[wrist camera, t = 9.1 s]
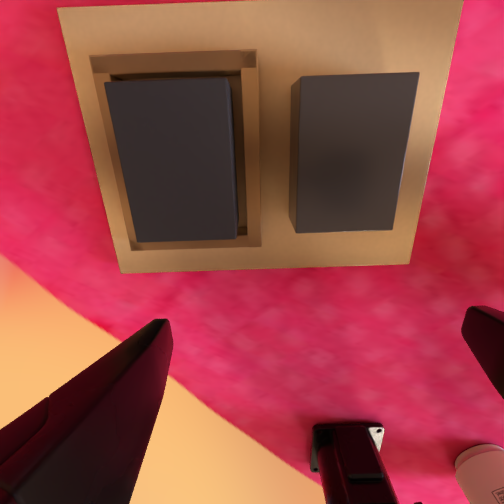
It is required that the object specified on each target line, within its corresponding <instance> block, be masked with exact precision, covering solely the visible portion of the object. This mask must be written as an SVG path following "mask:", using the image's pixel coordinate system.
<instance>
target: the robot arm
mask: <svg viewBox="0 0 504 504" xmlns="http://www.w3.org/2000/svg"><path fill="white" fill-rule="evenodd" d="M461 332H462V336H463V338H464V340H465V341H466V343H467V344H468V346H469V348H470V349H471V351H472V352H473V354H474V356H475V357H476V359H477V360H478V362H479V364H480V365H481V367H482V368H483V370H484V372H485V373H486V375H487V376H488V378H489V379H490V381H491V382H492V384H493V385H494V387H495V388H496V390H497V391H498V392H499V394H500V395H501V396H502V398H503V399H504V312H502V311H499V310H496V309H493V308H490V307H488V306H471V307H469V308H468V309H467V311H466V314H465V318H464V321H463V325H462V328H461ZM172 350H173V337H172V332H171V327H170V322H169V320H168V319H154V320H152V321H151V322H150V323H148V324H147V325H146V326H144V327H143V328H141V329H140V330H139V331H137V332H136V333H135V334H133V335H132V336H130V337H129V338H128V339H126V340H125V341H123V342H122V343H121V344H119V345H118V346H117V347H115V348H114V349H112V350H111V351H110V352H108V353H107V354H106V355H104V356H103V357H101V358H100V359H99V360H97V361H96V362H95V363H93V364H92V365H90V366H89V367H88V368H86V369H85V370H83V371H82V372H81V373H79V374H78V375H77V376H75V377H74V378H72V379H71V380H69V381H68V382H67V383H65V384H64V385H63V386H61V387H60V388H58V389H57V390H56V391H54V392H53V393H51V394H50V396H49V397H46V398H44V399H43V400H42V401H40V402H39V403H38V404H36V405H35V406H34V407H32V408H31V409H29V410H28V411H26V412H25V413H24V414H22V415H21V416H19V417H18V418H16V419H15V420H14V421H12V422H11V423H9V424H8V425H7V426H5V427H3V428H2V429H1V430H0V504H129V503H130V499H131V496H132V493H133V490H134V487H135V483H136V481H137V478H138V474H139V471H140V468H141V465H142V462H143V459H144V456H145V452H146V449H147V446H148V443H149V440H150V436H151V434H152V430H153V427H154V424H155V421H156V418H157V415H158V412H159V408H160V405H161V402H162V399H163V395H164V390H165V386H166V381H167V376H168V371H169V366H170V361H171V356H172ZM384 431H385V430H384V427H383V425H382V424H381V423H361V424H327V425H315V426H314V427H313V429H312V442H311V455H310V470H311V471H312V472H320V476H321V481H322V486H323V491H324V496H325V501H326V504H399V501H398V499H397V496H396V494H395V491H394V489H393V486H392V484H391V481H390V479H389V476H388V474H387V471H386V469H385V466H384V463H383V461H382V458H381V456H380V448H381V444H382V440H383V435H384ZM414 504H422V502H416V503H414Z"/></svg>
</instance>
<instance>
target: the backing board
mask: <svg viewBox="0 0 504 504" xmlns="http://www.w3.org/2000/svg"><path fill="white" fill-rule="evenodd" d="M463 2H464V0H246V1H219V2H193V3H166V4H139V5H113V6H86V7H59V8H57V13H58V17H59V21H60V25H61V29H62V33H63V37H64V42H65V46H66V50H67V54H68V58H69V62H70V66H71V70H72V75H73V79H74V83H75V87H76V91H77V95H78V99H79V103H80V108H81V112H82V116H83V120H84V124H85V128H86V132H87V136H88V140H89V145H90V149H91V153H92V157H93V161H94V165H95V169H96V173H97V178H98V182H99V186H100V190H101V194H102V198H103V202H104V206H105V211H106V215H107V219H108V223H109V227H110V231H111V235H112V239H113V244H114V248H115V252H116V256H117V260H118V264H119V268H120V272H121V274H123V273H153V272H184V271H215V270H246V269H277V268H307V267H338V266H369V265H400V264H409V262H410V257H411V252H412V247H413V243H414V238H415V233H416V228H417V223H418V218H419V214H420V209H421V204H422V199H423V194H424V190H425V185H426V180H427V175H428V170H429V165H430V161H431V156H432V151H433V146H434V141H435V136H436V132H437V127H438V122H439V117H440V112H441V108H442V103H443V98H444V93H445V88H446V83H447V79H448V74H449V69H450V64H451V59H452V55H453V50H454V45H455V40H456V35H457V30H458V26H459V21H460V16H461V11H462V6H463ZM217 77H226V78H227V80H228V82H229V84H230V86H231V88H232V101H233V119H234V138H235V156H236V174H237V193H238V211H239V222H238V230H237V238H236V239H230V240H202V241H173V242H145V243H138V242H137V240H136V235H135V230H134V226H133V221H132V216H131V211H130V206H129V202H128V197H127V192H126V187H125V183H124V178H123V173H122V168H121V163H120V159H119V154H118V149H117V144H116V140H115V135H114V130H113V125H112V120H111V116H110V111H109V106H108V101H107V97H106V92H105V87H104V82H114V81H140V80H165V79H191V78H217Z"/></svg>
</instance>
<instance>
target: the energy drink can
mask: <svg viewBox="0 0 504 504" xmlns="http://www.w3.org/2000/svg"><path fill="white" fill-rule="evenodd" d="M455 468H456V469H457V471H456V476H455V477H456V480H457V482H458V484H459V485H460V487H461V489H462V490H463V492H464V494H465V496H466V497H467V499H468V501H469V502H470V504H504V449H503V448H502V447H500V446H497V445H492V444H484V445H478V446H474V447H472V448H469V449H467V450H465V451H464V452H463V453H461V454H460V455H459V456H458V457H457V459H456V461H455Z"/></svg>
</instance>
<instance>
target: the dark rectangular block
mask: <svg viewBox="0 0 504 504" xmlns="http://www.w3.org/2000/svg"><path fill="white" fill-rule="evenodd" d="M104 87H105V92H106V97H107V101H108V106H109V111H110V116H111V120H112V125H113V130H114V135H115V140H116V144H117V149H118V154H119V159H120V163H121V168H122V173H123V178H124V183H125V187H126V192H127V197H128V202H129V206H130V211H131V216H132V221H133V226H134V230H135V235H136V240H137V242H138V243H145V242H173V241H202V240H230V239H236V238H237V230H238V222H239V211H238V193H237V174H236V156H235V138H234V119H233V101H232V88H231V86H230V84H229V82H228V80H227V78H226V77H217V78H191V79H165V80H140V81H114V82H104Z"/></svg>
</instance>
